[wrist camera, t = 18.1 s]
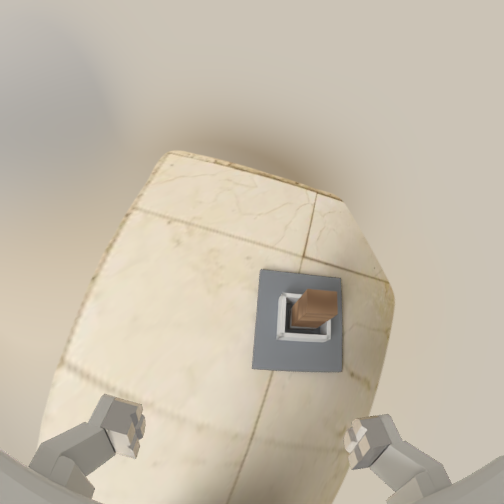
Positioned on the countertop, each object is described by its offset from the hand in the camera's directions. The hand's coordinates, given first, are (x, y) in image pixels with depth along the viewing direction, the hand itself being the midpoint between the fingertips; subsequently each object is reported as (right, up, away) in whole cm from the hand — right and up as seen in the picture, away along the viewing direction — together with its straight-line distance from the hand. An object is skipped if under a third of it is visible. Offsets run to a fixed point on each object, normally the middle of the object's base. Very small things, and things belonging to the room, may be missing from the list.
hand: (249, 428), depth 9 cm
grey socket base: (+8, -5, +34) cm, 35 cm away
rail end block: (+8, -4, +33) cm, 34 cm away
